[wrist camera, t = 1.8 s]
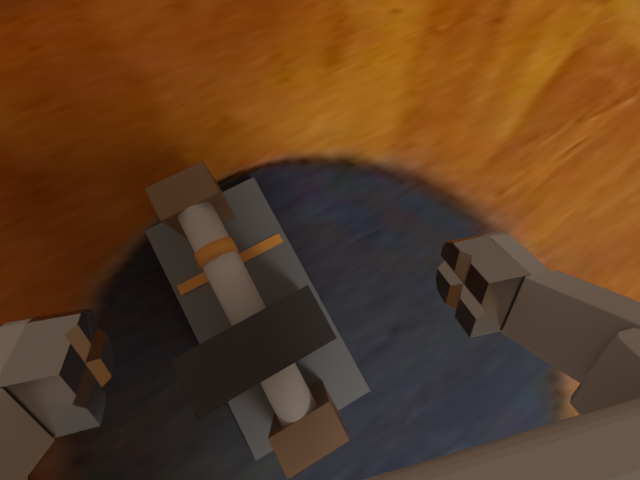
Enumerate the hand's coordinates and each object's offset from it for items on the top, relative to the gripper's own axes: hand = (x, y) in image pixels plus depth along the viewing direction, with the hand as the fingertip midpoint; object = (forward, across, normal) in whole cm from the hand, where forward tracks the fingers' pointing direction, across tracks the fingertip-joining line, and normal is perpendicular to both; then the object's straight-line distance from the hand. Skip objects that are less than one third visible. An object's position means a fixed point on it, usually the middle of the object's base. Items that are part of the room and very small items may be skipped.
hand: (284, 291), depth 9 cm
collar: (+16, +1, +21) cm, 26 cm away
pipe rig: (+20, +1, +22) cm, 29 cm away
